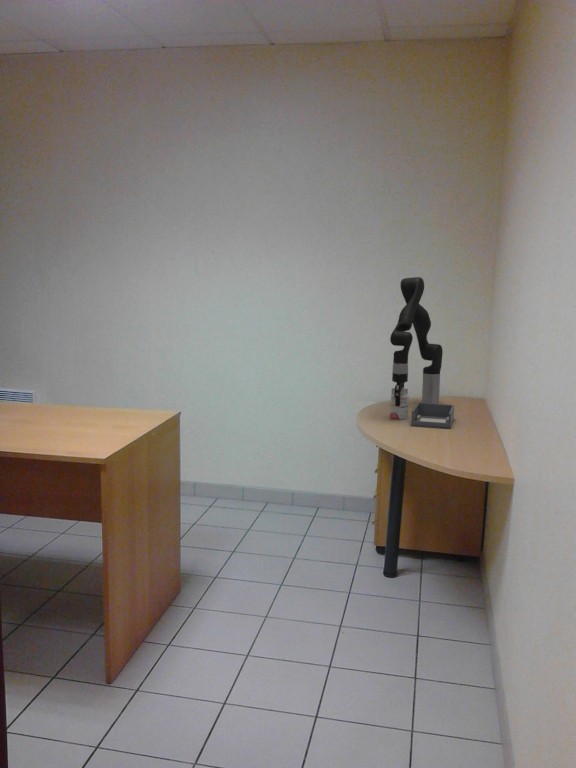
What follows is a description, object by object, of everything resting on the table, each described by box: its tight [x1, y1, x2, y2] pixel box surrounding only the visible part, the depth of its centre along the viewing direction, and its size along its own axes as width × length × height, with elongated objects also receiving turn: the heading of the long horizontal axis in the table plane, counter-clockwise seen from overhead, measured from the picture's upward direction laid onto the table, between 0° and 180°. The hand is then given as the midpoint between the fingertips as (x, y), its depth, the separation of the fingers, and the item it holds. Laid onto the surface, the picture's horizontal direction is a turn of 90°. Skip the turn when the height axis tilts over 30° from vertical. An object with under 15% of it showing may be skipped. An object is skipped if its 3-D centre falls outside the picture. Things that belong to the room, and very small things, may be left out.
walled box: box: [410, 402, 455, 430], centre depth 313 cm, size 22×18×7 cm
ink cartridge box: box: [389, 387, 410, 420], centre depth 322 cm, size 9×5×15 cm, turn 84°
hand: (399, 404), depth 322 cm, fingers open, 8 cm apart
